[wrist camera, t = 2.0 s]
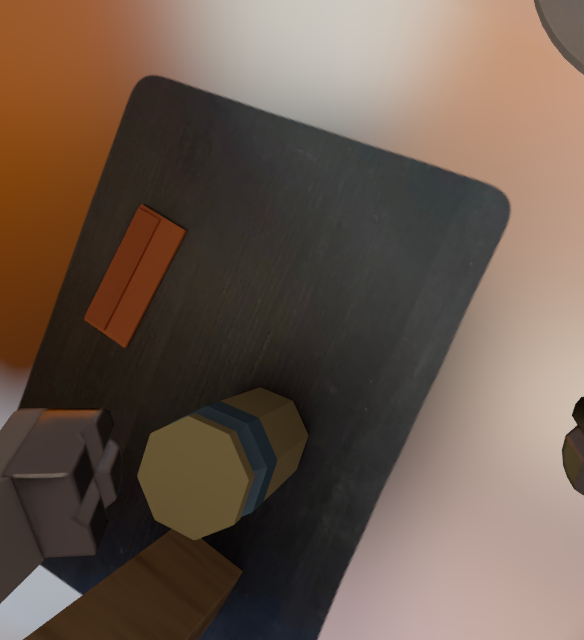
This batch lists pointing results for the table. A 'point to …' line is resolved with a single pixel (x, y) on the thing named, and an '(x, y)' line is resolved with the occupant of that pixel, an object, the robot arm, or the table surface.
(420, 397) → the table surface
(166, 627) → the tall box
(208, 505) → the jar
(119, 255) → the cloth
